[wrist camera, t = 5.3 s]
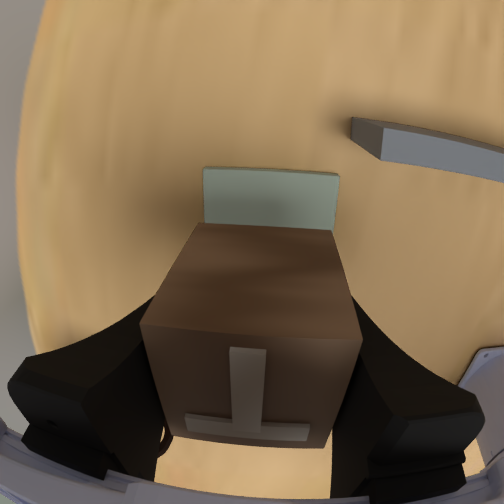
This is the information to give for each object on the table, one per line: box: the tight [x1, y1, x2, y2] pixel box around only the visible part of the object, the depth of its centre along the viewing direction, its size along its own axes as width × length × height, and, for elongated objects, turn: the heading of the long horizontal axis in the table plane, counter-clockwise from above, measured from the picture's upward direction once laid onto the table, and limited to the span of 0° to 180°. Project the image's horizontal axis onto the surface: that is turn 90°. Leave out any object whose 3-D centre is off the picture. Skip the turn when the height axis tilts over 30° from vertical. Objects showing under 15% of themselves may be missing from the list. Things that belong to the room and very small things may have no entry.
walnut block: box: [139, 223, 363, 448], centre depth 11 cm, size 5×5×6 cm
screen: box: [351, 117, 504, 183], centre depth 12 cm, size 12×1×6 cm, turn 89°
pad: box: [203, 167, 340, 234], centre depth 18 cm, size 7×7×1 cm
